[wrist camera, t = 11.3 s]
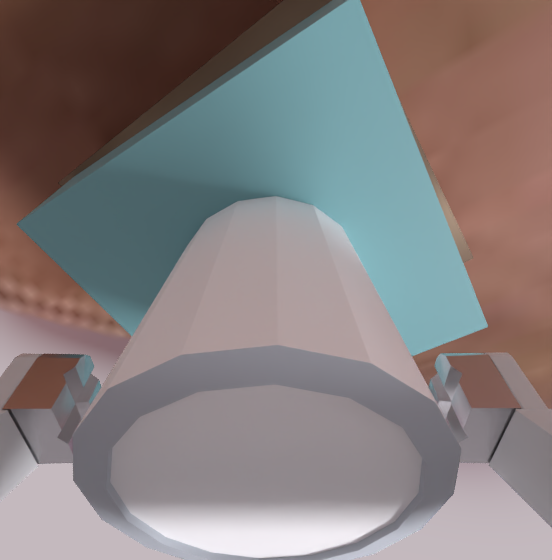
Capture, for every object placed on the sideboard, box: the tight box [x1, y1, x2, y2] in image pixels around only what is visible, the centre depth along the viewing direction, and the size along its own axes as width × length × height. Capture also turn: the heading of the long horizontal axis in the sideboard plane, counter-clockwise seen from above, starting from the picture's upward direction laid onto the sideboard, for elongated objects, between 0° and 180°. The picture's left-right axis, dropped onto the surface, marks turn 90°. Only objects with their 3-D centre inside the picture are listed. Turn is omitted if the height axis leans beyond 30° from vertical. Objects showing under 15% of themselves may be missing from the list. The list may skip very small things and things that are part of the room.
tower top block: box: [17, 0, 488, 356], centre depth 15 cm, size 11×11×4 cm
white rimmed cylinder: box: [72, 196, 462, 560], centre depth 10 cm, size 7×7×7 cm
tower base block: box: [59, 0, 473, 263], centre depth 18 cm, size 12×12×5 cm
